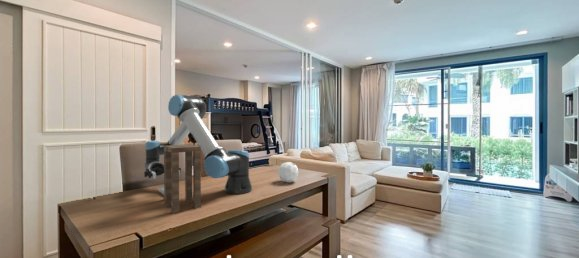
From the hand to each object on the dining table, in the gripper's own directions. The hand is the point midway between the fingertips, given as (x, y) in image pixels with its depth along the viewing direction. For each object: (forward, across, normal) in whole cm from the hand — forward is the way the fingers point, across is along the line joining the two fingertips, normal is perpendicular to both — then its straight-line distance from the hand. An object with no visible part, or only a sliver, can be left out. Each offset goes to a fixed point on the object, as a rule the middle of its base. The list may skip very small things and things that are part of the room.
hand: (167, 174), depth 132 cm
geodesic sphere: (+19, -68, -11) cm, 72 cm away
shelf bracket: (-1, 0, -11) cm, 11 cm away
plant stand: (+23, 0, -11) cm, 26 cm away
